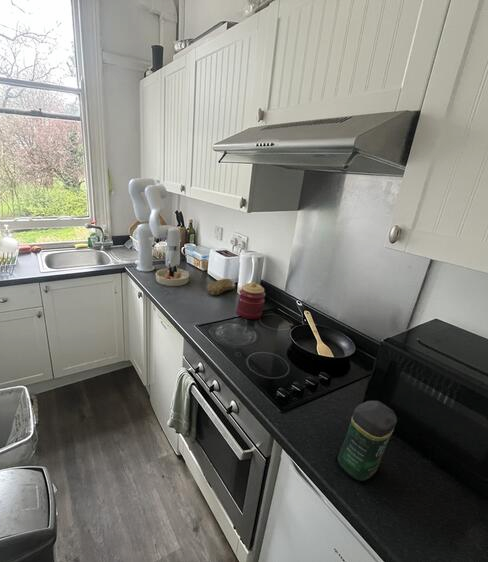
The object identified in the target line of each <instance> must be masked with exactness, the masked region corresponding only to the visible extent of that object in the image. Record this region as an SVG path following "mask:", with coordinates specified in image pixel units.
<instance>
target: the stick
mask: <svg viewBox="0 0 488 562" xmlns="http://www.w3.org/2000/svg"><path fill="white" fill-rule="evenodd" d="M165 275H167V276H169V270H167V271H165ZM174 277H175V278H180V277H181V273H178V272H174Z"/></svg>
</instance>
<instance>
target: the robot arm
mask: <svg viewBox="0 0 488 562" xmlns="http://www.w3.org/2000/svg"><path fill="white" fill-rule="evenodd" d="M127 187H128V193H129V196H130V199H131V201H132V206H133V210H134V215H135V216H134V217H135V219H136V221H138V222H141V223H140V224H138V225H137V227H136V237H137V257H138V259H137V260H135V262H134V264H135V265H136V266H135V269H136V271H139V272H142V273H144V272H145V273H146V272H147V273H148V272H153V271H154V270H155V266H154V265H153V242H152V240H151V238H155V239H156V240H157V239H158V240H159V239H165V238H167V239H166V240H167V242H166V243H167V246H166V249H167V250H166V253H165V266H166V268H167V269H169V276H170V277H174V272H177V269H179V268H178V267H179V265H180V263H181V253H180V252H181V249H180V248H181V229H180V228H179V227H176V226H173V225H170V224H165V225H162V224H161V219H160V215H159V214H160V213H163V212H164V210H165V206H164V205H165V204H164V202H163V199H166V197H167V196H168V194H167V193H168V191H167V188H166V186H164V185H163V184H162V183H160V182H159V181H158V180H156V179H155V178H150V177H146V178H145V177H136V178H132V179H131V180H129V183H128V186H127ZM142 193H144V195H145V196H144V195H143V194H142ZM146 199H147V200H146ZM147 204H148V205H147ZM142 222H143V223H142ZM144 222H145V223H144ZM166 268H165V269H166Z"/></svg>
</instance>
